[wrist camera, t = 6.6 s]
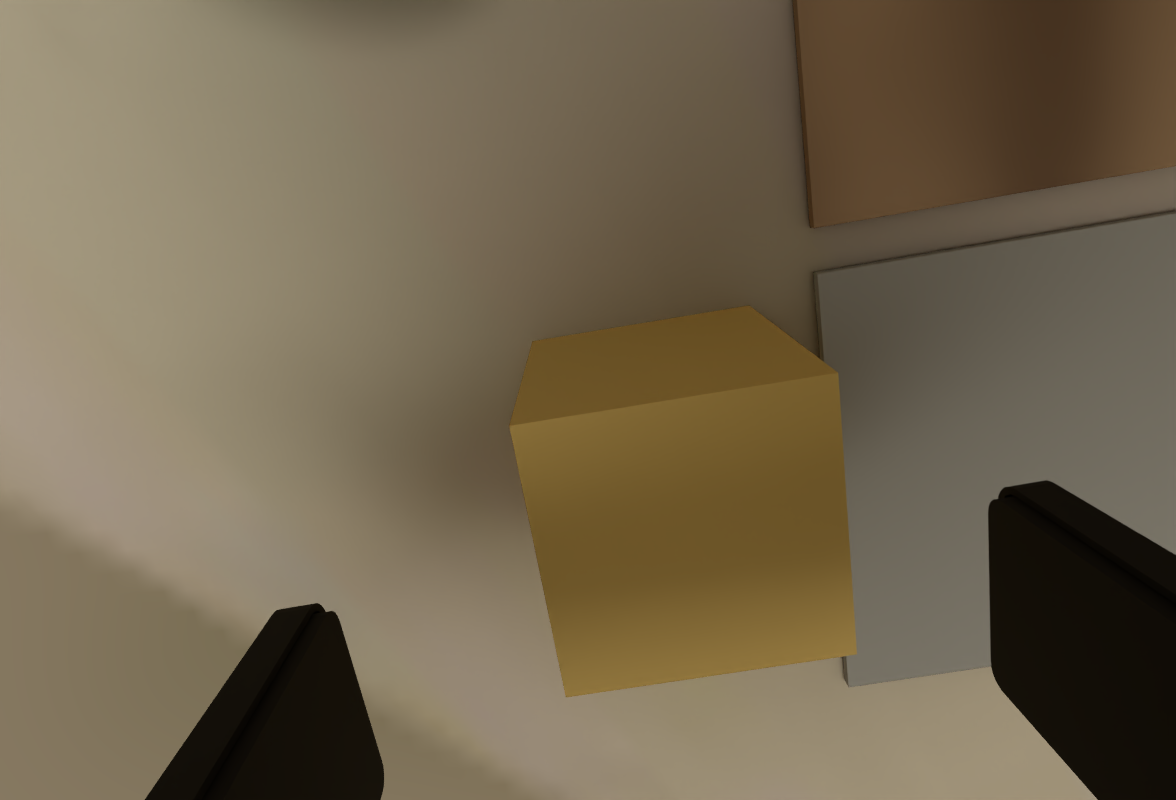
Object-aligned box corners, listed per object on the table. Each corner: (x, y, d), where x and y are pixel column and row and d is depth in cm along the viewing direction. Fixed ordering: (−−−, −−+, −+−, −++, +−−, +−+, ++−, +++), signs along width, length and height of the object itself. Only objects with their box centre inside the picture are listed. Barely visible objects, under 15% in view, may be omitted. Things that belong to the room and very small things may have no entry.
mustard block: (748, 305, 17) (838, 372, 11) (768, 502, 18) (857, 654, 12) (532, 340, 17) (509, 426, 11) (570, 533, 18) (565, 697, 13)
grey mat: (1363, 178, 16) (1377, 179, 16) (1302, 611, 19) (1313, 618, 19) (813, 272, 16) (817, 274, 16) (844, 679, 20) (848, 687, 19)
